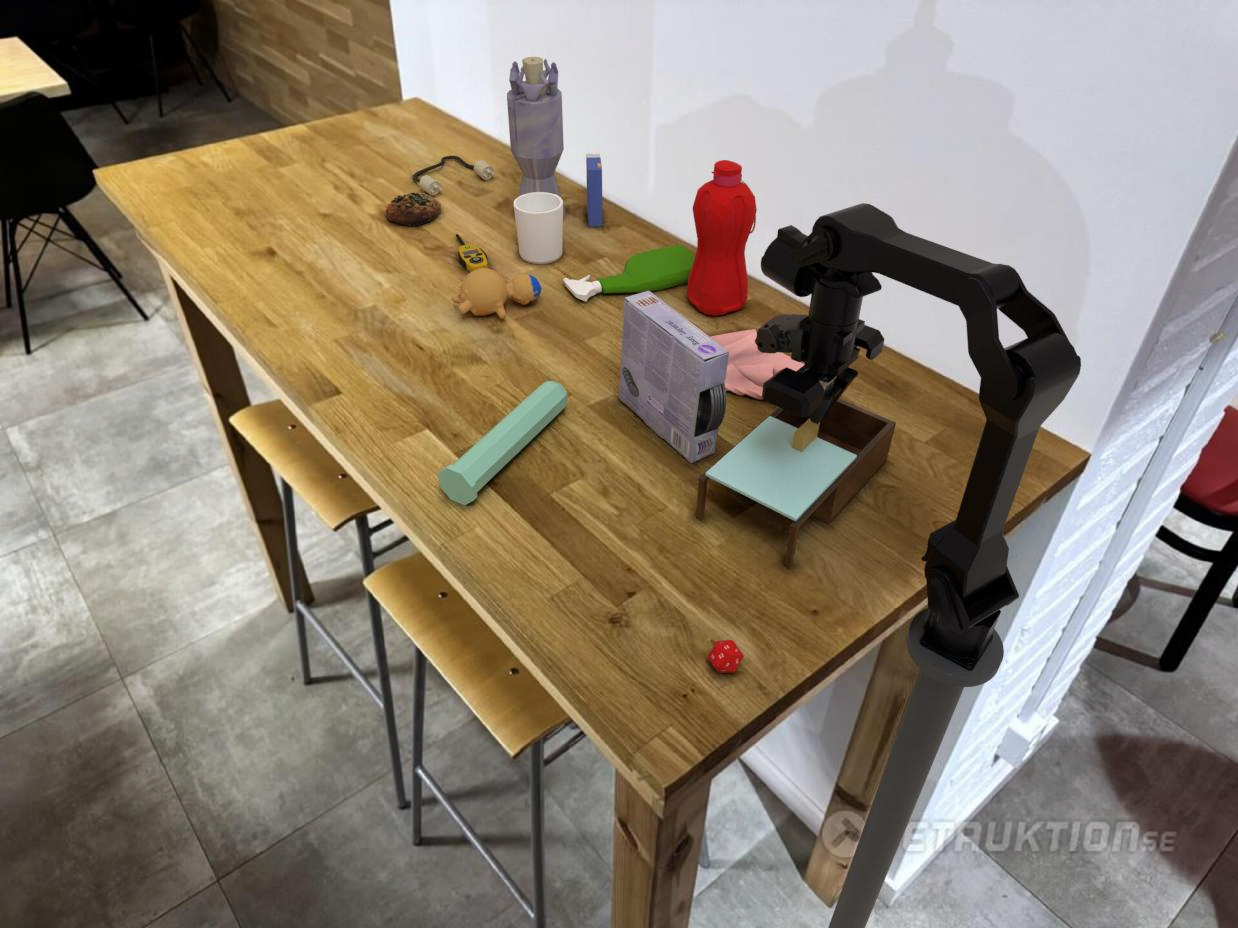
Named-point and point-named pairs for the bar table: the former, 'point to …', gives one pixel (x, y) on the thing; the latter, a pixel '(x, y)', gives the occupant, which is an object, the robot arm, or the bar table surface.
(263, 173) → the bar table surface
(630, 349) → the cake pan box
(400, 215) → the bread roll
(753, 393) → the cloth
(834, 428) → the display box
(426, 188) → the cable
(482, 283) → the toy
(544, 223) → the mug
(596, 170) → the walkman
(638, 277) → the spray bottle
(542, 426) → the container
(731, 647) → the die
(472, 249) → the yellow walkie talkie
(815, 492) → the light blue box top
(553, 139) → the decorative object
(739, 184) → the water bottle
